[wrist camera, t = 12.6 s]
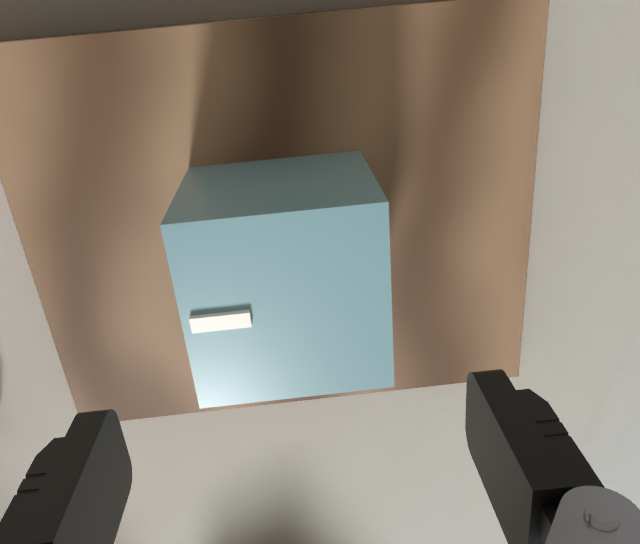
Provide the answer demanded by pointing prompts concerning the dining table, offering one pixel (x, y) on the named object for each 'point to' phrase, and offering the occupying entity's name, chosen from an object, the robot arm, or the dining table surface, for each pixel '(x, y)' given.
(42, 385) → the dining table surface
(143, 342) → the mounting plate
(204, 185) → the mini blue cabinet
